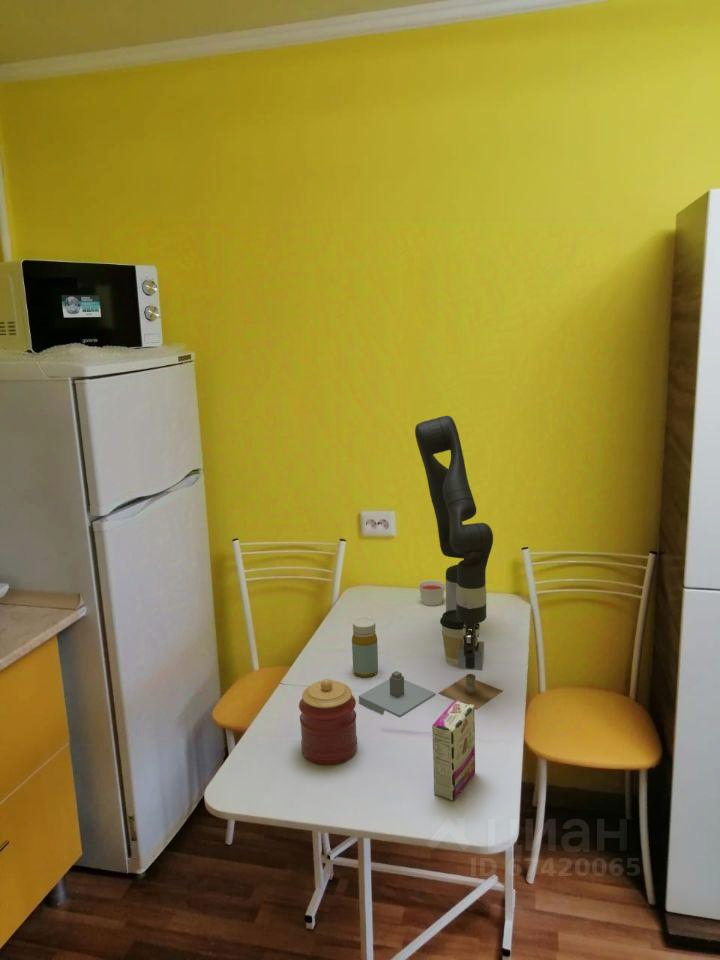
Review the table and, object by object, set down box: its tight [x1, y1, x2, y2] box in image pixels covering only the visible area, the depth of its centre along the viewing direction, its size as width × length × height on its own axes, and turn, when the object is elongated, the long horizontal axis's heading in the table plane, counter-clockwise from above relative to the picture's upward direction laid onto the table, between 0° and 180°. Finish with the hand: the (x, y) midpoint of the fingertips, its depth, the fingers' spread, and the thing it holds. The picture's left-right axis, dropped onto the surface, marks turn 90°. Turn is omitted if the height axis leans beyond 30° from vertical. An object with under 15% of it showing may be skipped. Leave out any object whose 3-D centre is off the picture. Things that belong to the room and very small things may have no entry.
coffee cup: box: [439, 610, 464, 667], centre depth 203 cm, size 10×10×15 cm
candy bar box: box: [431, 700, 476, 801], centre depth 152 cm, size 11×5×16 cm, turn 148°
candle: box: [418, 579, 446, 607], centre depth 249 cm, size 9×9×6 cm
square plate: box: [358, 670, 437, 718], centre depth 186 cm, size 14×14×8 cm
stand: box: [437, 673, 504, 711], centre depth 187 cm, size 12×12×6 cm
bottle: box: [351, 617, 379, 678], centre depth 201 cm, size 7×7×15 cm
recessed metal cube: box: [457, 640, 485, 671], centre depth 185 cm, size 6×6×5 cm
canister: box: [298, 678, 358, 766], centre depth 165 cm, size 13×13×18 cm
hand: (471, 661), depth 185 cm, fingers closed on recessed metal cube, 6 cm apart
